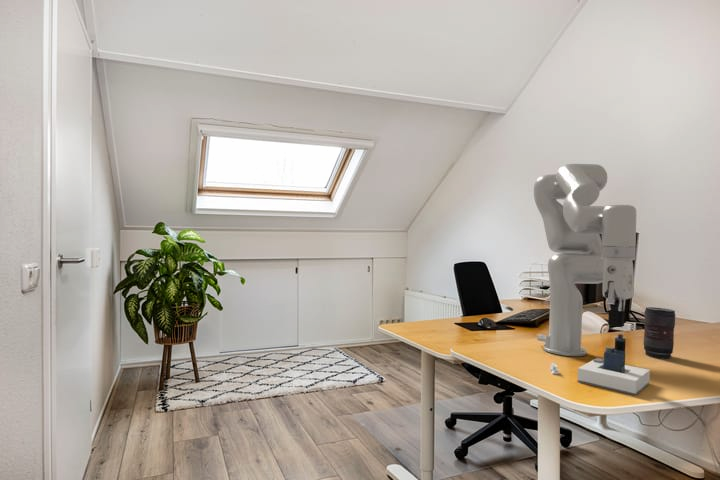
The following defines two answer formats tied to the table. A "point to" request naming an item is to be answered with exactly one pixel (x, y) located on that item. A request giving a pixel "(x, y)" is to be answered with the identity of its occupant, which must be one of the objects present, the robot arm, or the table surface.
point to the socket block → (614, 377)
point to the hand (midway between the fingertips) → (616, 325)
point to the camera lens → (659, 332)
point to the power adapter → (554, 369)
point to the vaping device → (615, 356)
